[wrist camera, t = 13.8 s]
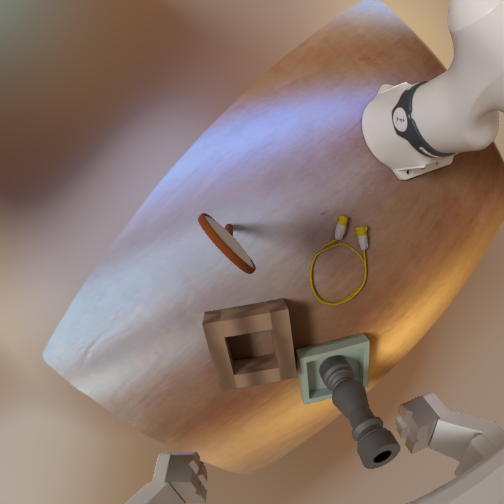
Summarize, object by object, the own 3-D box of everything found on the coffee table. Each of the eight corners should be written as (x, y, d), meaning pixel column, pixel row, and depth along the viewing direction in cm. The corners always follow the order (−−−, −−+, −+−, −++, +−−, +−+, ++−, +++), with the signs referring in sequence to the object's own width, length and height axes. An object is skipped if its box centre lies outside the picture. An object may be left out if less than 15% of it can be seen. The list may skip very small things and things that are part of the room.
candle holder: (342, 349, 53) (399, 436, 28) (351, 370, 54) (404, 454, 30) (314, 364, 53) (357, 458, 29) (324, 384, 54) (366, 474, 30)
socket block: (283, 298, 51) (288, 309, 46) (291, 362, 54) (297, 377, 49) (204, 312, 50) (202, 324, 45) (221, 374, 53) (220, 390, 48)
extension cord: (388, 247, 51) (393, 249, 49) (339, 313, 53) (342, 318, 51) (343, 207, 49) (347, 208, 47) (290, 279, 51) (292, 283, 49)
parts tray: (362, 332, 53) (369, 340, 50) (361, 378, 56) (367, 387, 53) (295, 349, 53) (299, 358, 50) (300, 394, 56) (304, 404, 52)
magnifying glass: (207, 211, 47) (189, 224, 27) (214, 203, 47) (202, 211, 27) (243, 249, 48) (250, 287, 29) (250, 242, 48) (262, 276, 29)
